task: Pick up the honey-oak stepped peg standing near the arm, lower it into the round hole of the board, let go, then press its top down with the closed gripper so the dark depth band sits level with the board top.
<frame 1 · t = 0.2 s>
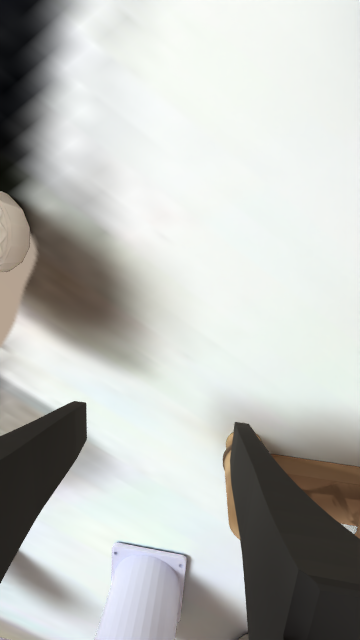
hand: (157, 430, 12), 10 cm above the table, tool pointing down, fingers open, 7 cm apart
peg: (243, 444, 22), on the table
board: (330, 522, 23), on the table
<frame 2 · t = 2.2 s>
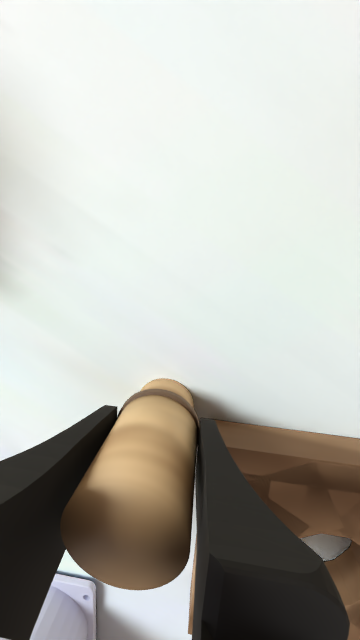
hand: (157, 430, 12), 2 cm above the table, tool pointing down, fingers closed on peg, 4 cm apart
peg: (165, 405, 14), on the table, touching gripper
board: (309, 531, 14), on the table
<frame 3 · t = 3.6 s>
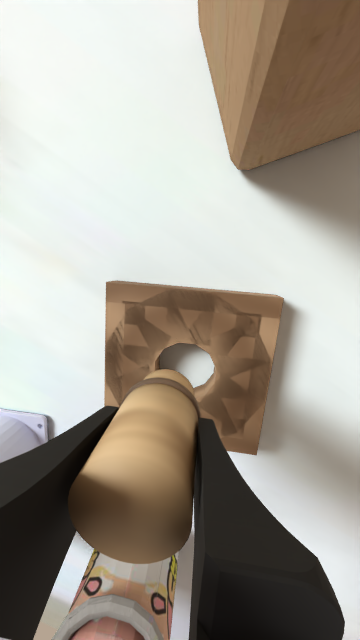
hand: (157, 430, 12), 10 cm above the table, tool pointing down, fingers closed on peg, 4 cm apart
peg: (166, 395, 14), point 7 cm above the table, touching gripper
beverage can: (143, 526, 26), on the table
board: (186, 362, 21), on the table
wooden block: (287, 76, 16), on the table
when the fingers open (3 cm above the table, at t = 5.4 s): peg stays where it is, resting in board.
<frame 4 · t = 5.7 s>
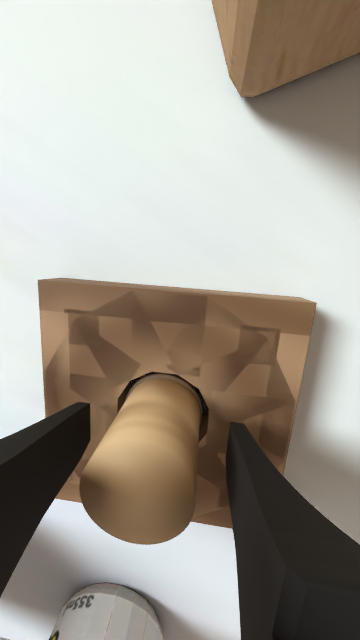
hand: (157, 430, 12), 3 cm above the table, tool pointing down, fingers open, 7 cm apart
peg: (169, 390, 15), resting in board
beverage can: (116, 607, 19), on the table
board: (168, 396, 15), on the table
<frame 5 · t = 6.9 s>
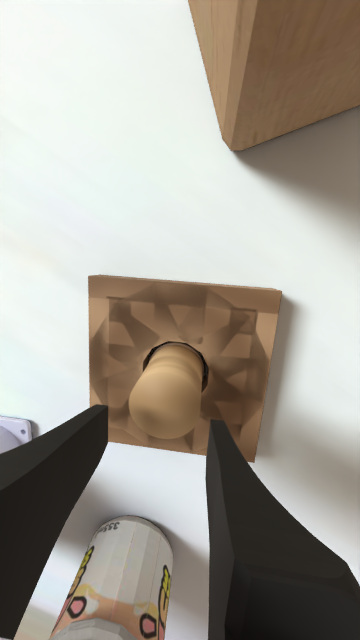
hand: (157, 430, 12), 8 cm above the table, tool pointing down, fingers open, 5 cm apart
peg: (179, 358, 20), resting in board
beverage can: (135, 537, 24), on the table
board: (178, 363, 20), on the table
wooden block: (284, 46, 15), on the table
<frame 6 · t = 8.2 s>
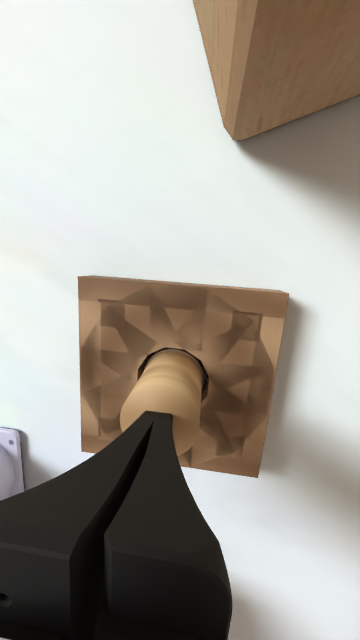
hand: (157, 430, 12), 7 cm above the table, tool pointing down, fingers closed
peg: (177, 365, 18), resting in board
board: (176, 370, 18), on the table
wooden block: (292, 24, 14), on the table
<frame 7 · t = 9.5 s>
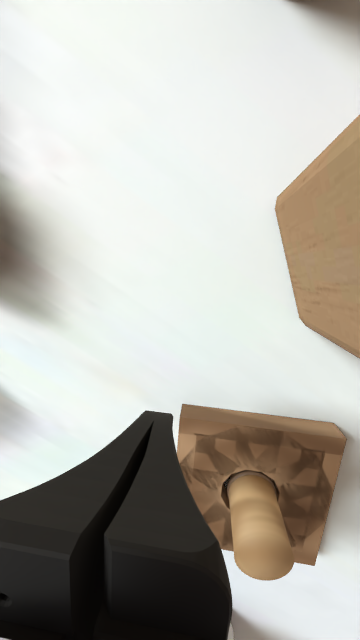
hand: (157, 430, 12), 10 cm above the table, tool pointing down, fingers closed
peg: (247, 471, 23), resting in board
board: (246, 475, 23), on the table
wooden block: (351, 245, 18), on the table
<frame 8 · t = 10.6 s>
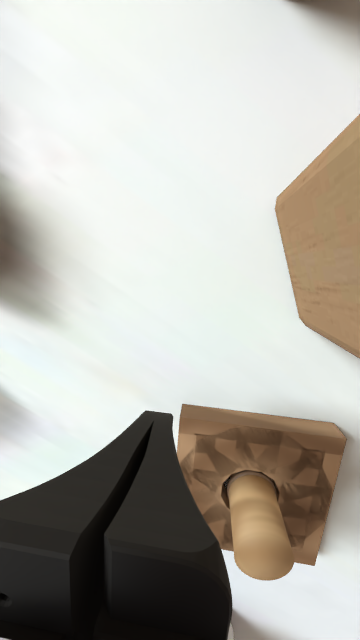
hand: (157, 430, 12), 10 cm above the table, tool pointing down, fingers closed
peg: (247, 471, 23), resting in board
board: (246, 475, 23), on the table
wooden block: (351, 245, 18), on the table
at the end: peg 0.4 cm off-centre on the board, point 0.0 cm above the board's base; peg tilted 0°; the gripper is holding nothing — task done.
